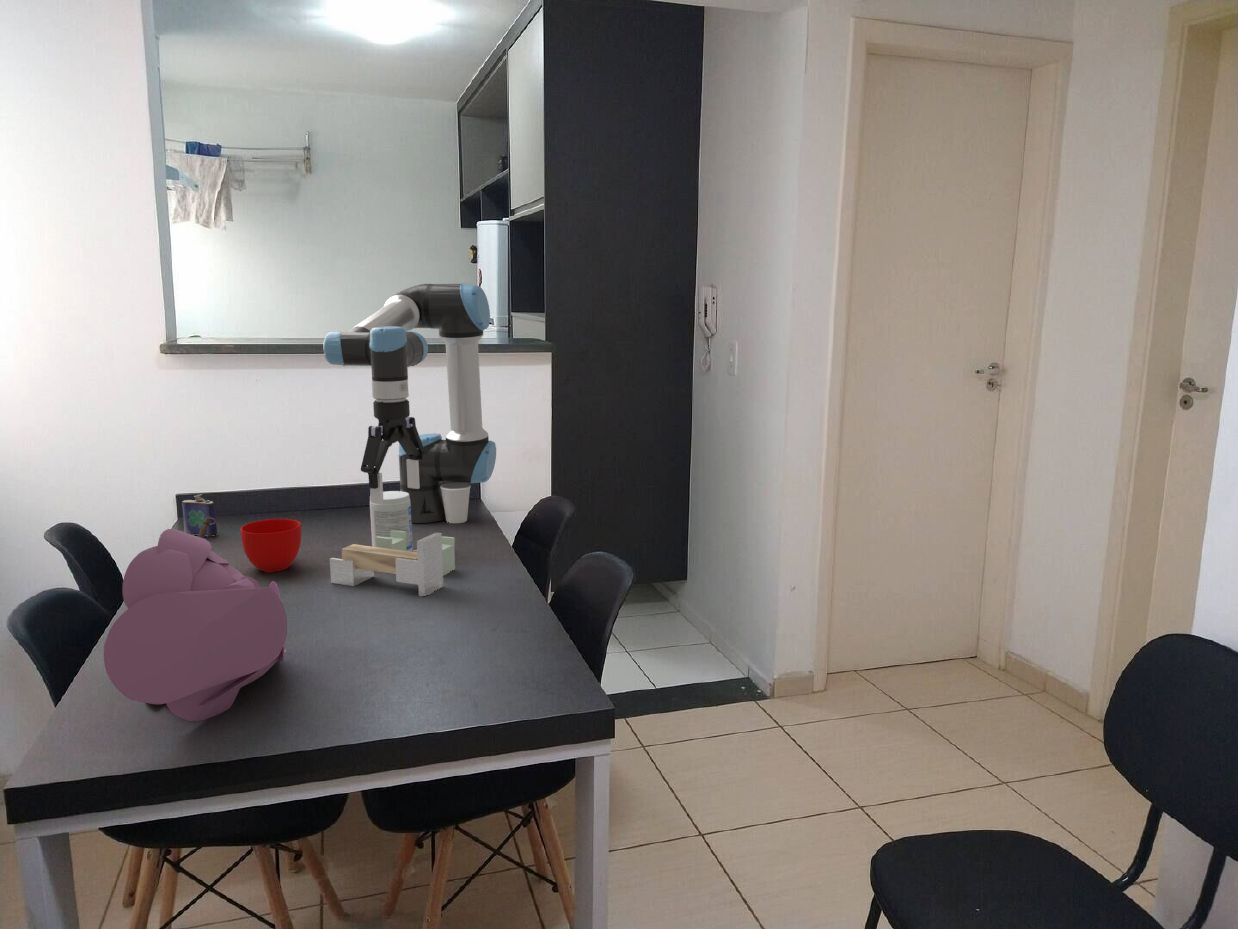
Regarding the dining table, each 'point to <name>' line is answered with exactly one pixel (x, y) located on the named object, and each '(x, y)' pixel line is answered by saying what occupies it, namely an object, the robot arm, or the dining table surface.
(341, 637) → the dining table surface
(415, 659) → the dining table surface
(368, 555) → the rail
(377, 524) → the supplement tub
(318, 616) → the dining table surface
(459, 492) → the dixie cup
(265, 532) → the ceramic cup
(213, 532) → the flask
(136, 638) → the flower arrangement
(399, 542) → the rack
